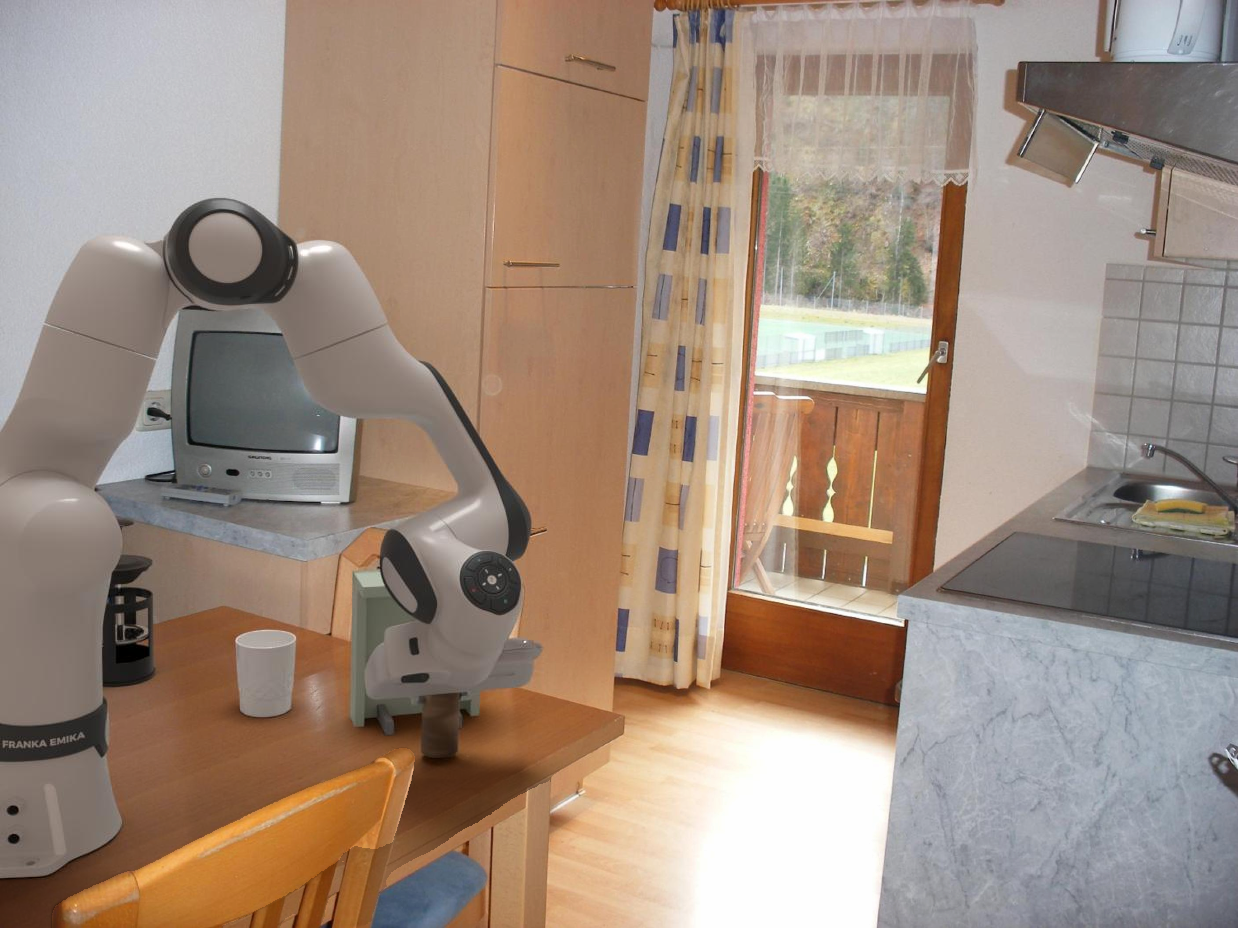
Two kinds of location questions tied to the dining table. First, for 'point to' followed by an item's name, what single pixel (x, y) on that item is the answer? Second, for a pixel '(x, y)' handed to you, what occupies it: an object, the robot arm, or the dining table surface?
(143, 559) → the french press
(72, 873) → the dining table surface
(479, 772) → the dining table surface
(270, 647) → the white cup
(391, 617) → the shelf
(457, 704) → the pepper mill
